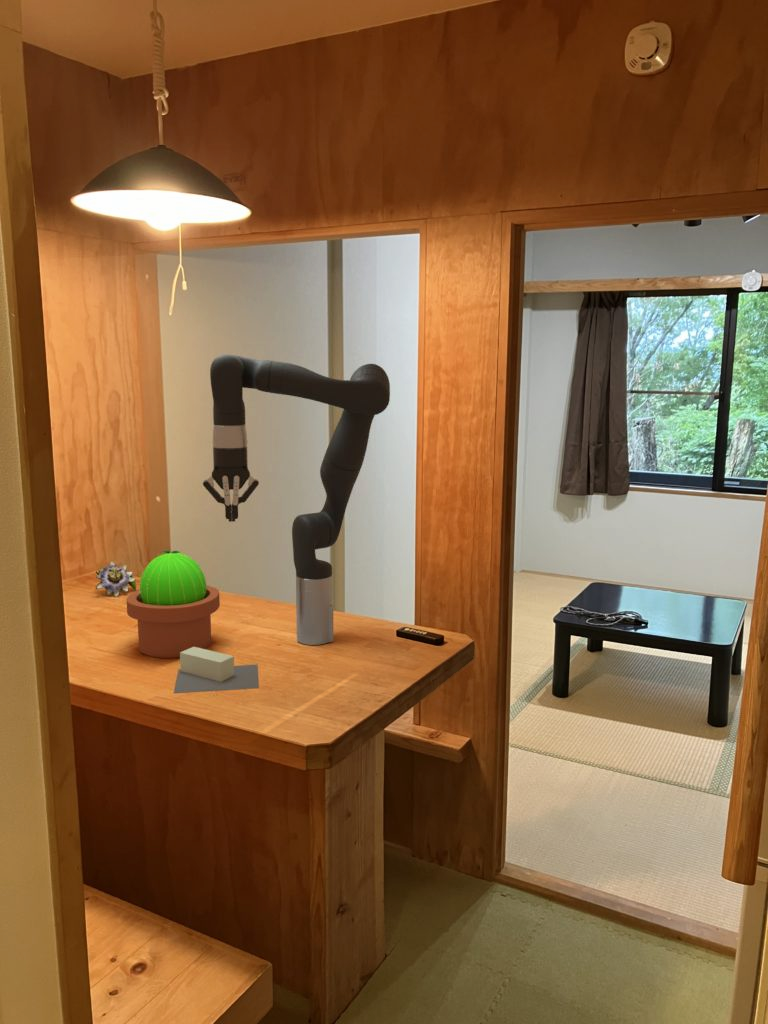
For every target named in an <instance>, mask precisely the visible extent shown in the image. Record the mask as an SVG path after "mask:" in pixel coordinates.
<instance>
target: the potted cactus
mask: <svg viewBox="0 0 768 1024" xmlns="http://www.w3.org/2000/svg"><path fill="white" fill-rule="evenodd" d="M161 553H162V554H160V553H157V555H158V556H157V557H155V556H152V557H153V559H152V560H151V561H149V562H148V565H147V566H144V570H143V572H142V573H141V577H140V580H139V583H138V585H139V589H136V590H135V591H132V593H130V594H129V595H128V596H127V597H126V613H127V616H129V618H132V619H134V620H137V632H138V633H137V634H138V635H137V636H138V637H137V638H138V649H139V651H140V652H141V654H143V655H145V656H148V657H153V658H160V659H177V658H178V659H180V652H182V651H185V650H187V649H189V648H192V647H197V648H202V649H206V648H209V647H210V646H211V644H212V619H211V615H212V614H214V613H216V612H217V610H219V608H220V604H221V602H220V600H221V599H220V591H219V589H217V588H216V587H214V586H211V585H208V584H207V580H206V576H205V575H204V574H205V572H204V570H203V569H202V568H201V563H198V562H196V560H194V557H193V558H192V557H190V555H187V554H184V553H182V551H178V550H172V551H170V550H163V551H161Z"/></svg>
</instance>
